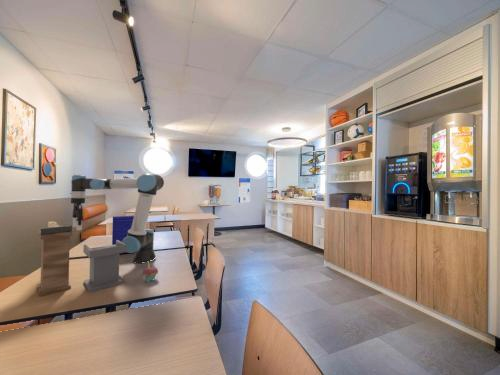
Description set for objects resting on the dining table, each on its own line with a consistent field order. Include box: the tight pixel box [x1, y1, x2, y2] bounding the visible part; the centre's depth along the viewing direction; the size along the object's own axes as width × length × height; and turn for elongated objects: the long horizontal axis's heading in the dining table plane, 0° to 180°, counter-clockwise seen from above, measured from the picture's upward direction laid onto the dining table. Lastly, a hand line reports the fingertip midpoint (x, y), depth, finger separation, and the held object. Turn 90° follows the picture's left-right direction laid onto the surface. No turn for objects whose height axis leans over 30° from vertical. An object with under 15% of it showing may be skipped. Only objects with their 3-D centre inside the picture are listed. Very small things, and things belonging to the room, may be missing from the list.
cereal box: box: [111, 214, 135, 255], centre depth 178 cm, size 22×6×30 cm, turn 122°
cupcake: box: [141, 262, 159, 282], centre depth 127 cm, size 9×8×12 cm
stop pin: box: [39, 220, 73, 235], centre depth 118 cm, size 24×12×3 cm, turn 48°
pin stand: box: [36, 230, 73, 297], centre depth 114 cm, size 14×12×30 cm
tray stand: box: [83, 240, 126, 293], centre depth 121 cm, size 15×17×22 cm
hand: (77, 228), depth 146 cm, fingers open, 13 cm apart
